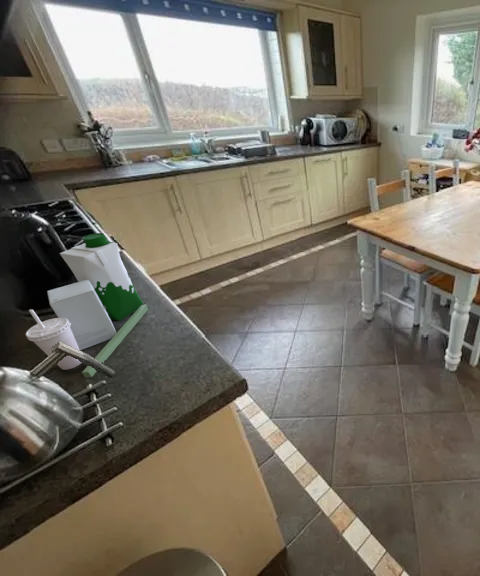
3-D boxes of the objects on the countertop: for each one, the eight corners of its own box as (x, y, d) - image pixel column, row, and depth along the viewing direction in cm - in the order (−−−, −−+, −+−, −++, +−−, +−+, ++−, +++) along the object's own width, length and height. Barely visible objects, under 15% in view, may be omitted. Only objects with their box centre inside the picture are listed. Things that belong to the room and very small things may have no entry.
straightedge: (85, 378, 65) (81, 372, 64) (143, 309, 86) (141, 304, 85) (91, 377, 65) (88, 371, 65) (148, 309, 86) (146, 304, 85)
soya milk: (150, 304, 88) (117, 234, 77) (118, 324, 80) (77, 249, 70) (125, 299, 90) (90, 230, 79) (91, 318, 82) (48, 245, 72)
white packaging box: (119, 336, 76) (93, 290, 70) (79, 351, 72) (47, 304, 65) (113, 322, 81) (88, 278, 74) (75, 336, 76) (45, 290, 70)
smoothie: (47, 366, 68) (6, 311, 61) (84, 349, 73) (50, 295, 65) (58, 379, 65) (16, 323, 58) (96, 360, 69) (62, 305, 62)
